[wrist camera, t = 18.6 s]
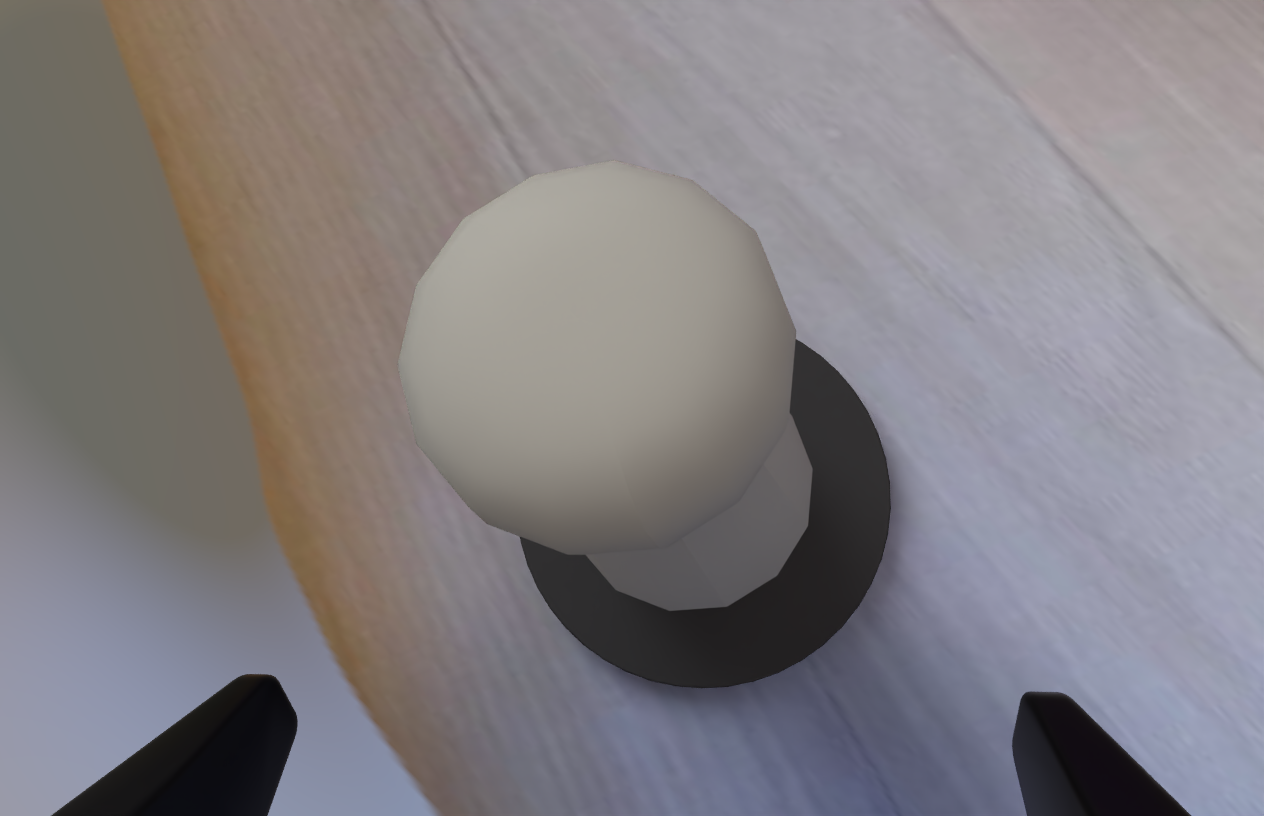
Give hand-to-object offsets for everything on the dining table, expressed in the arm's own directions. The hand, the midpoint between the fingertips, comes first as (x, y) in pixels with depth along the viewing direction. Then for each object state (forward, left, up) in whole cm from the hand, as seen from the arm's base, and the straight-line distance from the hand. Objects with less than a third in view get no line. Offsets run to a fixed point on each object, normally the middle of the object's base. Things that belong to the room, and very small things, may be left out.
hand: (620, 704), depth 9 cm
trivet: (+3, +2, -11) cm, 12 cm away
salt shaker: (+3, +2, -10) cm, 11 cm away
